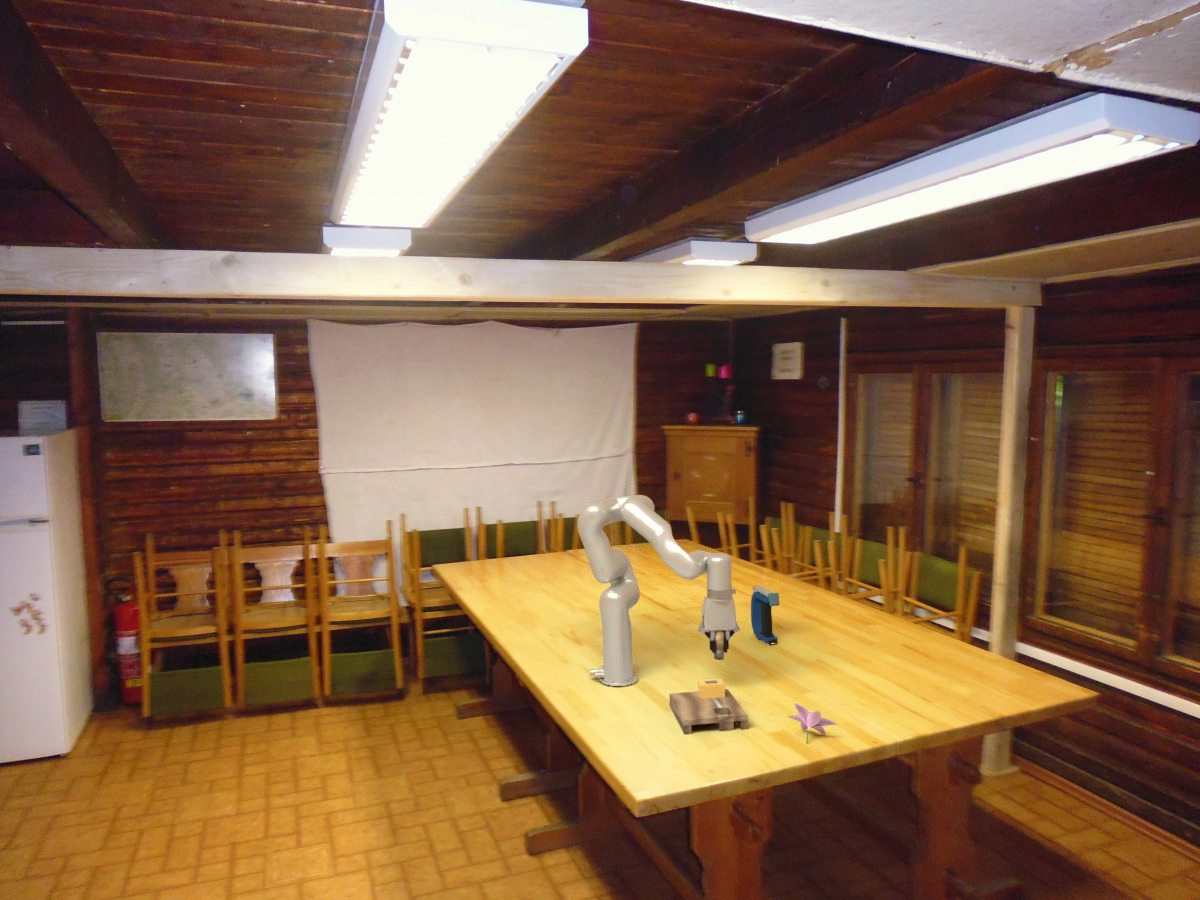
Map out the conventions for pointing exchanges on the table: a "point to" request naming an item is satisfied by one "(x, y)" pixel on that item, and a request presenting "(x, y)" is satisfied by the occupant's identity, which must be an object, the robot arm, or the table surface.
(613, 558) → the robot arm
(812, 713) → the lily
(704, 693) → the block
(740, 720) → the board
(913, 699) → the table surface
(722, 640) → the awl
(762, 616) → the handheld scanner
